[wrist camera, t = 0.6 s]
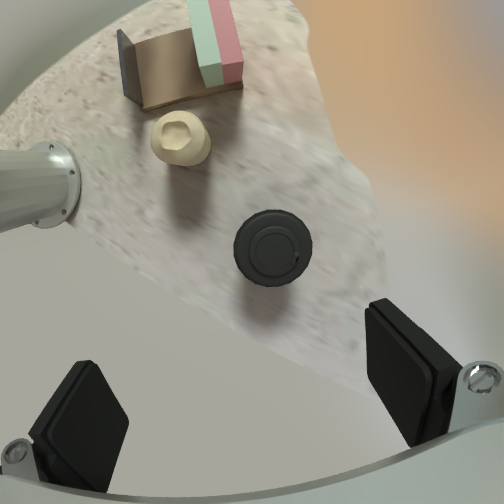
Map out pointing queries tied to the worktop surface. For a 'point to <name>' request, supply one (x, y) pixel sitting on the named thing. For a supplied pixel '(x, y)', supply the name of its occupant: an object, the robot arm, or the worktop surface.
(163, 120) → the candle
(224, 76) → the books
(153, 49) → the brown wooden board
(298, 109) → the worktop surface
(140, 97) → the bookend
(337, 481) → the robot arm
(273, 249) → the coffee cup
